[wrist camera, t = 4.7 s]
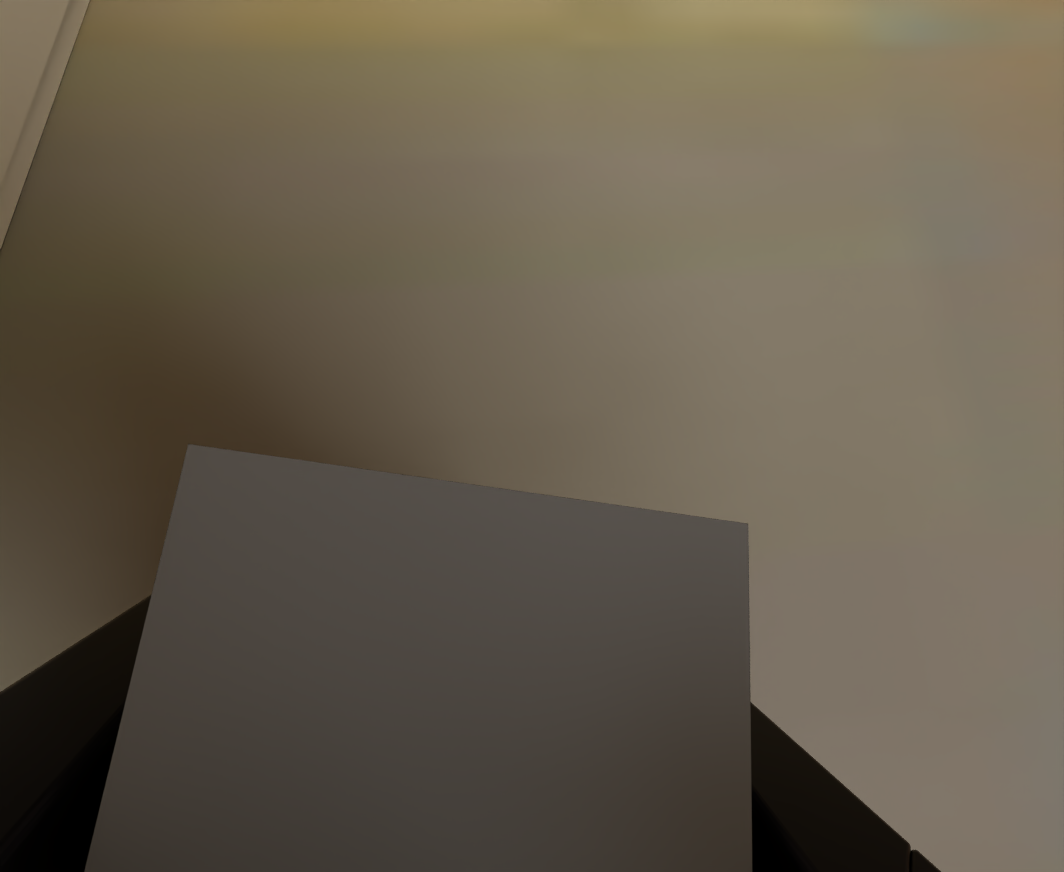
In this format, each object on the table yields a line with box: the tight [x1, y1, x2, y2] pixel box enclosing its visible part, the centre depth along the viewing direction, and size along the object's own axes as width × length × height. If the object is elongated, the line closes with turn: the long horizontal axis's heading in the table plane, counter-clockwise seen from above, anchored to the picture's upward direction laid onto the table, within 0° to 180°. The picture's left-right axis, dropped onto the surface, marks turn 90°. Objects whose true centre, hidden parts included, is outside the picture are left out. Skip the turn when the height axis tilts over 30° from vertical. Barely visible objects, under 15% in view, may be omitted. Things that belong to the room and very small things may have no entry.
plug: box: [84, 444, 752, 872], centre depth 11 cm, size 4×4×10 cm
